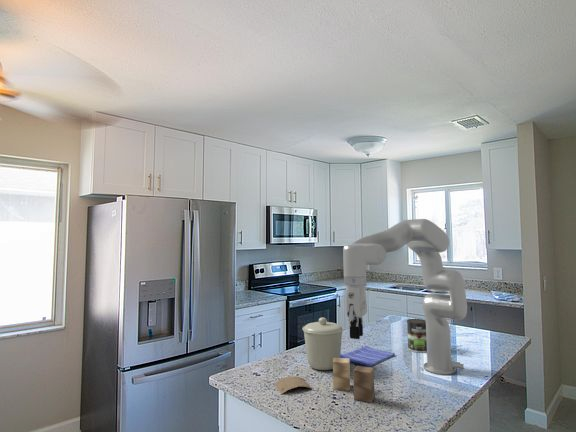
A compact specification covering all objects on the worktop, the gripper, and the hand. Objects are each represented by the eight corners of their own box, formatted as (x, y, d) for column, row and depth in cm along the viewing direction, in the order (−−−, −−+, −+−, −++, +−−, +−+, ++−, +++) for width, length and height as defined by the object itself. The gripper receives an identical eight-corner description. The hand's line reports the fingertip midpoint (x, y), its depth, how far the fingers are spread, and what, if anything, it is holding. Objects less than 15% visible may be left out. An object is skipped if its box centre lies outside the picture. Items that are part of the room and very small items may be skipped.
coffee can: (431, 353, 173) (430, 323, 174) (408, 352, 176) (407, 322, 177) (428, 347, 183) (427, 318, 184) (406, 345, 186) (405, 318, 187)
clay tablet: (305, 380, 144) (305, 373, 144) (316, 390, 135) (315, 383, 135) (270, 386, 139) (270, 379, 139) (279, 397, 130) (279, 389, 130)
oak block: (350, 385, 138) (349, 358, 138) (349, 390, 133) (349, 362, 133) (334, 384, 139) (333, 357, 139) (333, 389, 134) (332, 362, 135)
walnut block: (374, 397, 127) (373, 368, 128) (371, 403, 123) (370, 372, 123) (357, 394, 130) (357, 365, 130) (354, 399, 125) (353, 370, 126)
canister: (294, 366, 158) (293, 317, 159) (321, 356, 171) (320, 311, 172) (326, 377, 145) (325, 324, 147) (352, 366, 158) (351, 317, 159)
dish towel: (335, 360, 167) (335, 354, 167) (364, 349, 183) (364, 343, 184) (367, 370, 155) (367, 363, 155) (395, 356, 171) (395, 350, 171)
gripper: (359, 284, 112) (361, 345, 111) (371, 279, 127) (373, 332, 126) (336, 283, 116) (337, 342, 115) (351, 278, 130) (352, 330, 129)
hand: (356, 336), depth 120 cm, fingers open, 3 cm apart
